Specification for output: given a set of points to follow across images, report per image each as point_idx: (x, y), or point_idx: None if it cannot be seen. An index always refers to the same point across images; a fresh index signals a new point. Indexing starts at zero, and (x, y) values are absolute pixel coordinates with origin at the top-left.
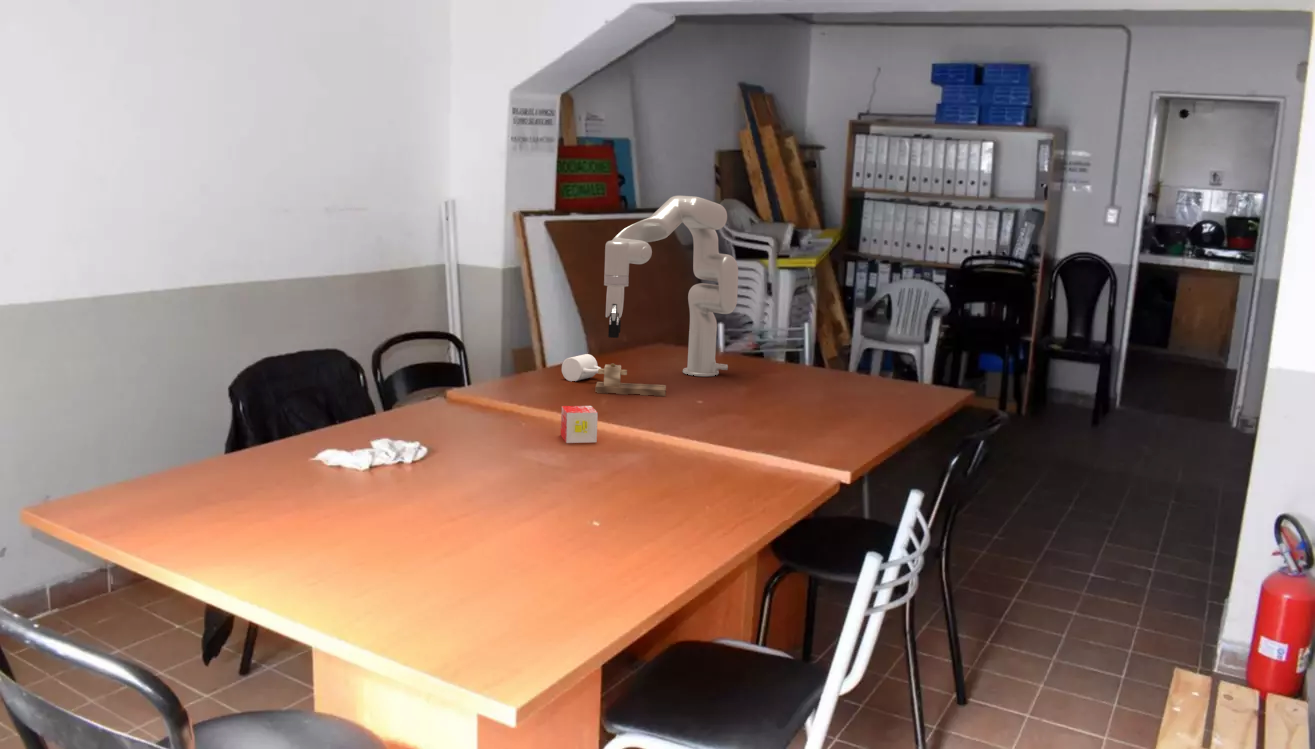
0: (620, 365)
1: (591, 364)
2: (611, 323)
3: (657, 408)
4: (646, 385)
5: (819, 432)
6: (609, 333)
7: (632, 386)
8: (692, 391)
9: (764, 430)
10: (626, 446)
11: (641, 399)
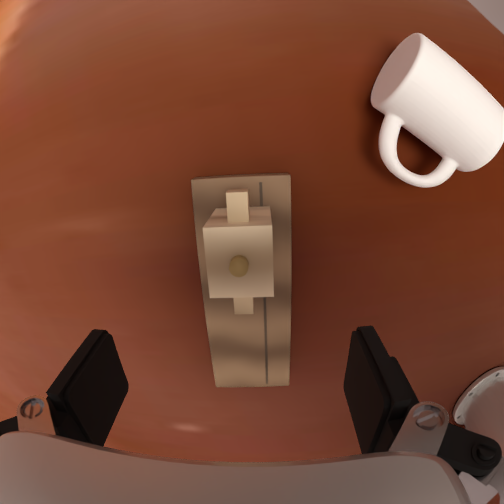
0: (266, 294)
1: (445, 147)
2: (23, 416)
3: None
4: (265, 343)
5: None
6: (85, 350)
7: None
8: (300, 418)
9: None
10: None
11: (153, 322)
